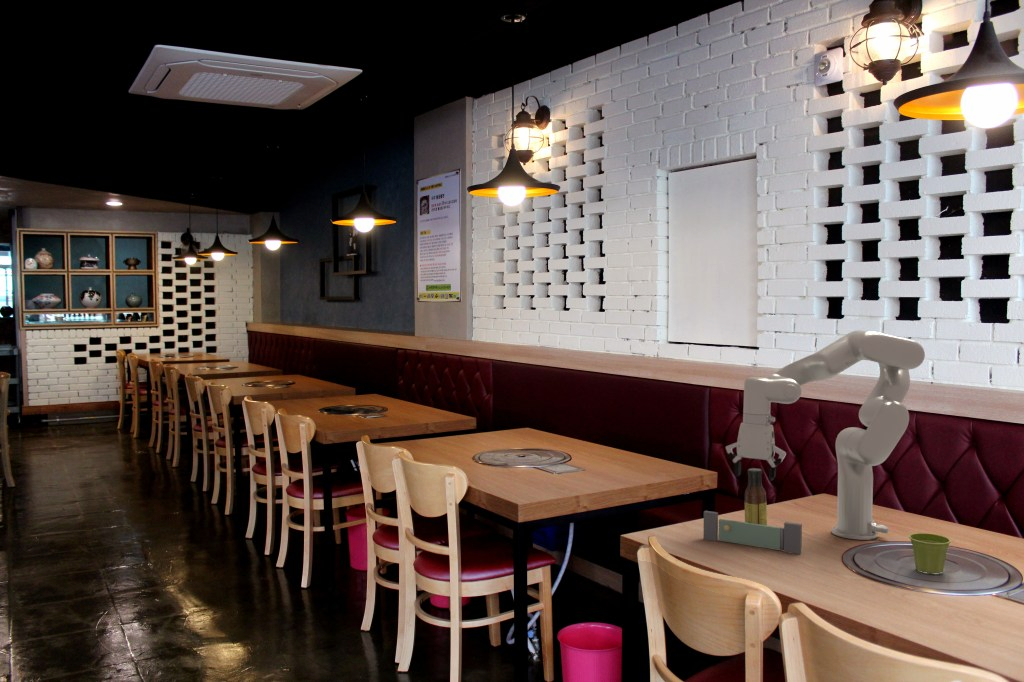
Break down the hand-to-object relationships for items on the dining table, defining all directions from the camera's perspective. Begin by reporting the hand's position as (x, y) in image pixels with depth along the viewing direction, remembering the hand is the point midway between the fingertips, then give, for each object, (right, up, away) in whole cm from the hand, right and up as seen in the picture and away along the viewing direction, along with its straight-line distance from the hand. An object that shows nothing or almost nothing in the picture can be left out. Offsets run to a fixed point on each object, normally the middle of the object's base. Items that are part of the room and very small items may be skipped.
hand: (754, 477), depth 235 cm
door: (-4, -17, -9) cm, 20 cm away
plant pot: (+35, -19, -31) cm, 50 cm away
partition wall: (-4, -18, -8) cm, 20 cm away
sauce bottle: (+1, -18, +1) cm, 18 cm away
